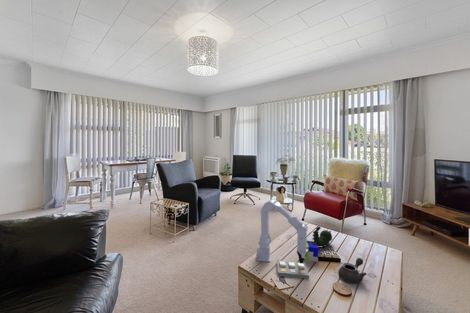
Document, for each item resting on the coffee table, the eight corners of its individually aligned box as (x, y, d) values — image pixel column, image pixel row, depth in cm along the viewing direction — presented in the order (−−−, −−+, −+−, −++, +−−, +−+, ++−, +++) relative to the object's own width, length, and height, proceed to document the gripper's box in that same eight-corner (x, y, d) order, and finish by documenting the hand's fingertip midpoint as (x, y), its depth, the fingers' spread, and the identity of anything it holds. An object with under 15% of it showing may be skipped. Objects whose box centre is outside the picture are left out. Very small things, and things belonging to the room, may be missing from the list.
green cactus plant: (320, 254, 161) (336, 242, 176) (320, 231, 159) (336, 221, 174) (309, 249, 168) (325, 238, 184) (309, 227, 166) (325, 217, 181)
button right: (298, 268, 136) (298, 266, 136) (297, 265, 139) (297, 262, 139) (304, 269, 135) (304, 266, 135) (303, 265, 139) (303, 263, 139)
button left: (279, 266, 138) (280, 264, 137) (279, 263, 141) (279, 261, 141) (285, 267, 137) (285, 264, 137) (285, 264, 141) (285, 261, 140)
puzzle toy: (317, 261, 148) (318, 248, 147) (303, 259, 150) (303, 246, 149) (315, 254, 157) (315, 241, 157) (301, 252, 159) (302, 240, 159)
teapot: (362, 290, 119) (363, 273, 118) (334, 277, 130) (335, 262, 130) (372, 277, 131) (373, 261, 130) (346, 266, 143) (347, 252, 142)
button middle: (289, 267, 137) (289, 265, 137) (288, 264, 140) (288, 262, 140) (294, 268, 136) (294, 265, 136) (294, 265, 140) (294, 262, 140)
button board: (277, 275, 131) (277, 272, 131) (276, 262, 145) (276, 259, 145) (309, 278, 128) (309, 275, 128) (304, 265, 142) (304, 262, 142)
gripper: (310, 248, 129) (309, 269, 129) (305, 238, 143) (305, 257, 144) (298, 247, 130) (298, 268, 130) (295, 237, 144) (294, 256, 145)
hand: (301, 262), depth 137 cm, fingers closed
